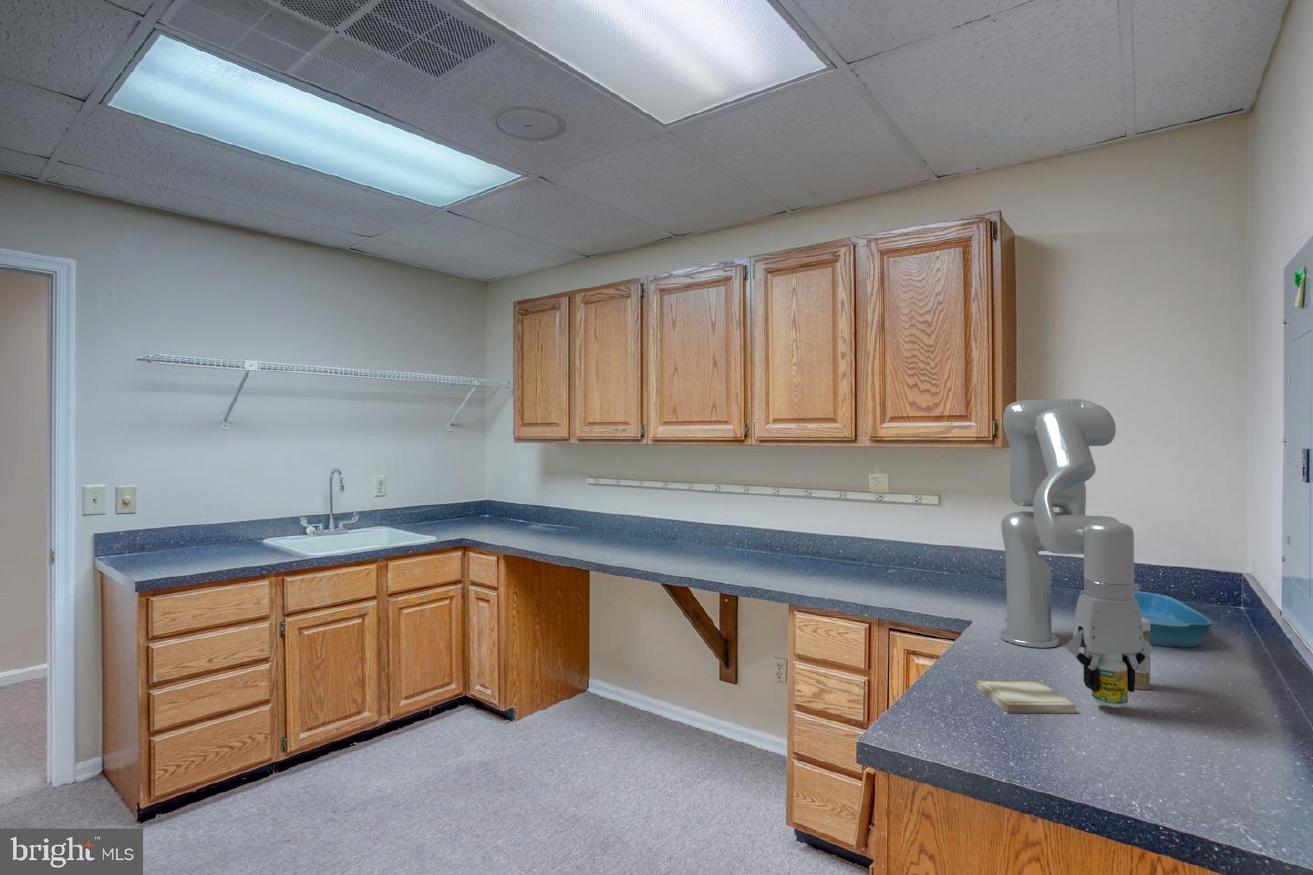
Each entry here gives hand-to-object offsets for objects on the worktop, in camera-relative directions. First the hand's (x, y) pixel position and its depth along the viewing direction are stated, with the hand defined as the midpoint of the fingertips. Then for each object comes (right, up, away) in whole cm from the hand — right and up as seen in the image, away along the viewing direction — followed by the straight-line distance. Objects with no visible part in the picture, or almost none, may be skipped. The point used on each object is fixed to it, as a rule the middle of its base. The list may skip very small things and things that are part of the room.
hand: (1109, 687), depth 119 cm
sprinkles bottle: (+13, -4, +11) cm, 18 cm away
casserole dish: (+42, -4, +49) cm, 65 cm away
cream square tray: (-13, -4, +5) cm, 14 cm away
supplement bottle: (0, -3, 0) cm, 3 cm away
